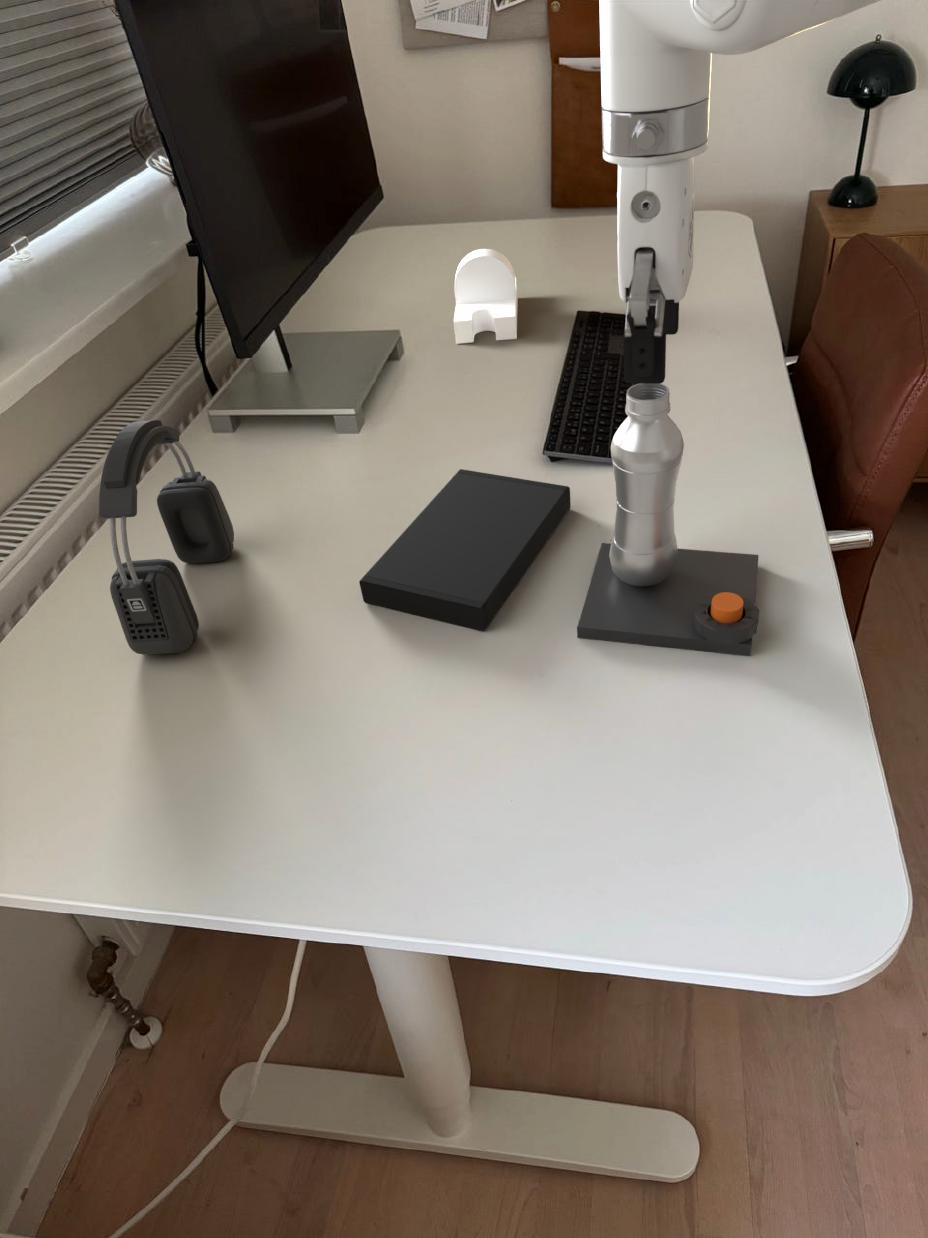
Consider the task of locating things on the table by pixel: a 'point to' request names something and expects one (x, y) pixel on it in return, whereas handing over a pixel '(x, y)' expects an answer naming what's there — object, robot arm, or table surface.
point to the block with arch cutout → (485, 296)
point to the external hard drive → (467, 549)
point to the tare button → (727, 607)
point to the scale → (674, 604)
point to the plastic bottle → (645, 487)
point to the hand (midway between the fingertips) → (652, 356)
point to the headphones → (194, 524)
